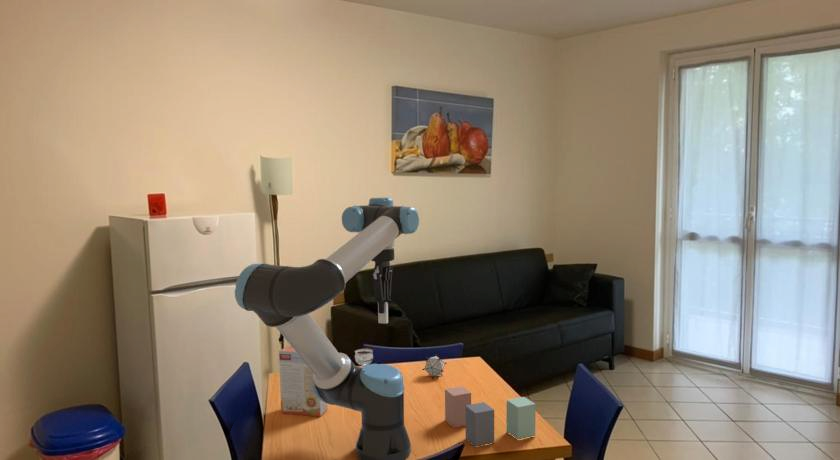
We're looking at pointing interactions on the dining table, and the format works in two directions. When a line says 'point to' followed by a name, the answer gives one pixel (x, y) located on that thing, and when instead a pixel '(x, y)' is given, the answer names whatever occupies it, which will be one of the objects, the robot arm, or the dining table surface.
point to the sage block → (521, 417)
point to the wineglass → (364, 356)
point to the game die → (434, 366)
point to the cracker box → (297, 386)
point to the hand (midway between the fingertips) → (383, 322)
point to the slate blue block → (479, 424)
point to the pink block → (456, 406)
